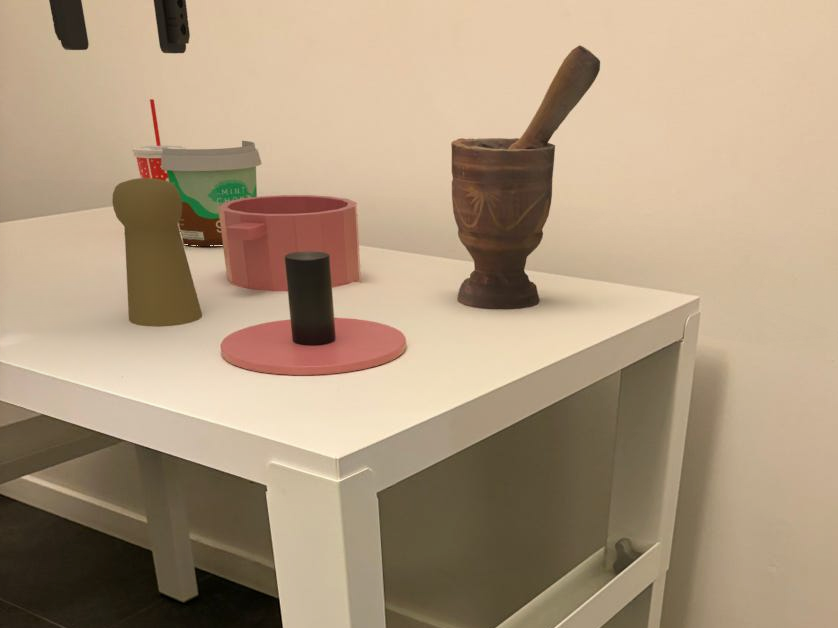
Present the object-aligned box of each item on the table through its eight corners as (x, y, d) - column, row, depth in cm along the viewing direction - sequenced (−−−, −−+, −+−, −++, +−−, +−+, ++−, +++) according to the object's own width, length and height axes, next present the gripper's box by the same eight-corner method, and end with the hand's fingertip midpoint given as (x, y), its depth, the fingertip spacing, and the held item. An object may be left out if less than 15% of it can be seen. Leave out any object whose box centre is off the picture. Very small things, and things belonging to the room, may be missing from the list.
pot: (186, 296, 90) (174, 214, 87) (284, 260, 105) (277, 188, 101) (308, 308, 87) (300, 223, 83) (392, 269, 101) (389, 195, 97)
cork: (132, 336, 79) (105, 186, 73) (125, 318, 83) (100, 176, 78) (209, 329, 80) (189, 182, 75) (198, 312, 85) (178, 173, 79)
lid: (185, 371, 71) (168, 266, 67) (281, 326, 82) (272, 233, 78) (357, 392, 67) (350, 282, 63) (434, 342, 78) (432, 245, 74)
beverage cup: (206, 226, 123) (189, 98, 115) (179, 234, 118) (159, 101, 110) (163, 223, 124) (144, 97, 117) (135, 231, 119) (113, 100, 112)
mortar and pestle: (551, 289, 94) (562, 44, 83) (596, 309, 87) (613, 45, 76) (438, 299, 90) (434, 44, 79) (475, 321, 83) (476, 45, 72)
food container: (208, 253, 108) (195, 152, 102) (173, 247, 111) (158, 148, 106) (291, 238, 116) (282, 143, 111) (255, 232, 119) (245, 140, 114)
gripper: (-53, -249, 62) (8, 50, 71) (136, -265, 58) (177, 54, 67) (31, -224, 68) (78, 49, 77) (208, -237, 64) (237, 53, 73)
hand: (124, 51), depth 72 cm, fingers open, 8 cm apart
